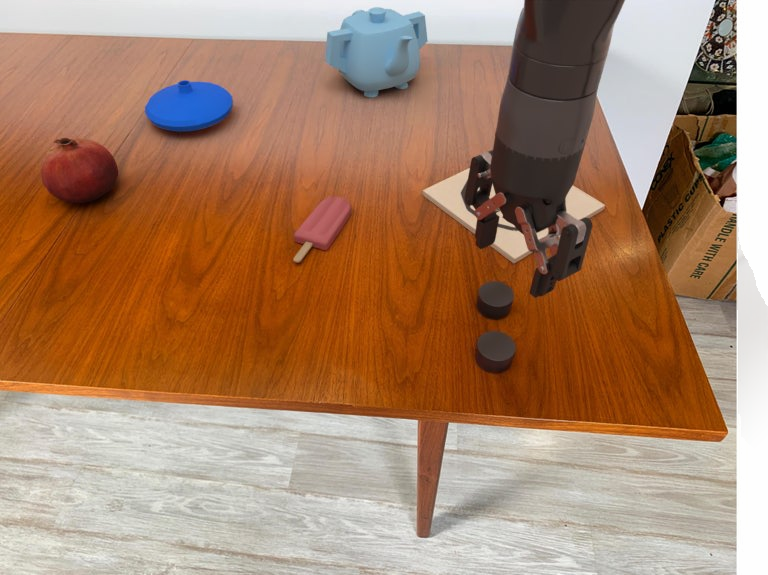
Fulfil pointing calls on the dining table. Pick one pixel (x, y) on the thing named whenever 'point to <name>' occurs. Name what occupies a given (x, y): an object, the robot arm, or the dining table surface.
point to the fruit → (78, 170)
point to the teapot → (377, 49)
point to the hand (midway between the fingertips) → (510, 267)
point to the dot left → (495, 351)
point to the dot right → (494, 300)
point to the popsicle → (322, 225)
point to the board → (507, 236)
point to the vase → (189, 106)
